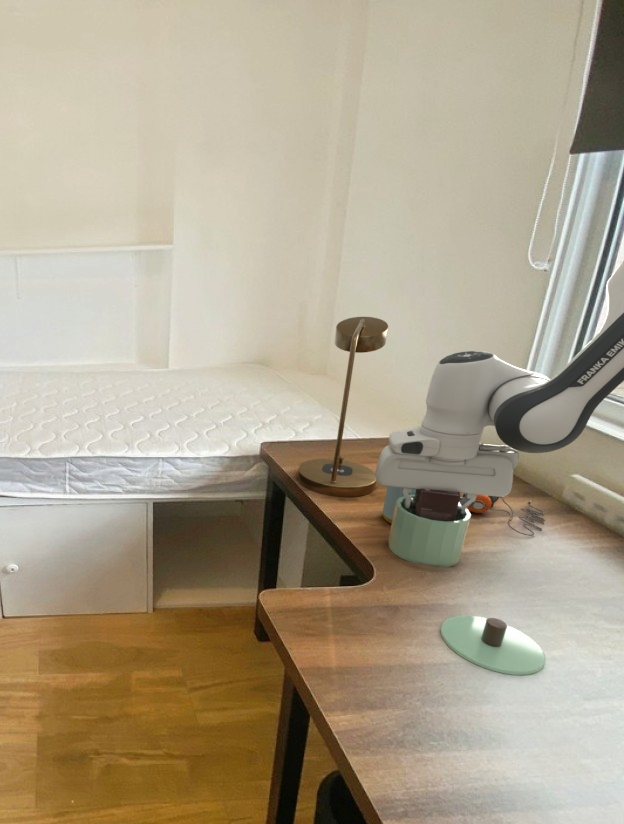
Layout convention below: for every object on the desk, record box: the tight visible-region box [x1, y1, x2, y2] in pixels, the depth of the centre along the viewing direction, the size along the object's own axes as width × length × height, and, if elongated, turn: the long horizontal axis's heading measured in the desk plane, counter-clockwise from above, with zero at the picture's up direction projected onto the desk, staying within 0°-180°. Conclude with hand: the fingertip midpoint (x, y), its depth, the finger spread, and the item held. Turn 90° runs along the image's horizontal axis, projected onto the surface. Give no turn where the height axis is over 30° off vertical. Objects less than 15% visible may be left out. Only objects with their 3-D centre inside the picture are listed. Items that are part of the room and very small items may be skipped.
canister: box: [387, 495, 472, 568], centre depth 106 cm, size 11×11×10 cm
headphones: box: [459, 493, 546, 537], centre depth 119 cm, size 17×5×20 cm
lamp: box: [296, 316, 389, 498], centre depth 134 cm, size 17×27×38 cm, turn 146°
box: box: [412, 489, 462, 521], centre depth 104 cm, size 6×6×7 cm
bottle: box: [381, 486, 416, 525], centre depth 116 cm, size 7×7×15 cm
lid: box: [440, 615, 546, 676], centre depth 83 cm, size 12×12×5 cm
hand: (433, 509), depth 104 cm, fingers closed on box, 6 cm apart
